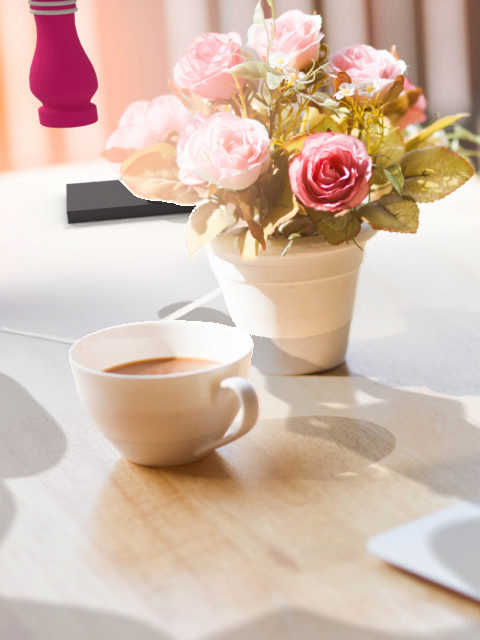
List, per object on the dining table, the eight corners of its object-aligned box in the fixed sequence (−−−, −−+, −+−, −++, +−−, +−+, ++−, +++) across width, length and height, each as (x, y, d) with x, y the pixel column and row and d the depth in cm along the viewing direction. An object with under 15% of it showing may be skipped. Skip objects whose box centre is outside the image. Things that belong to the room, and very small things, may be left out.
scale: (68, 225, 151) (64, 198, 150) (67, 195, 164) (64, 171, 163) (196, 213, 156) (193, 187, 155) (186, 185, 169) (183, 161, 168)
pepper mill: (20, 126, 131) (-9, -63, 124) (66, 113, 138) (41, -67, 130) (72, 131, 129) (45, -61, 121) (116, 118, 135) (93, -65, 127)
